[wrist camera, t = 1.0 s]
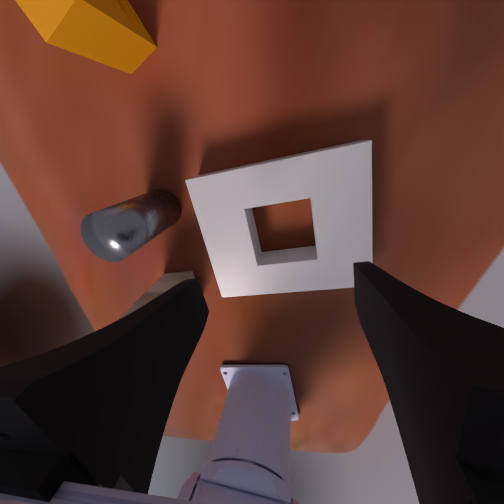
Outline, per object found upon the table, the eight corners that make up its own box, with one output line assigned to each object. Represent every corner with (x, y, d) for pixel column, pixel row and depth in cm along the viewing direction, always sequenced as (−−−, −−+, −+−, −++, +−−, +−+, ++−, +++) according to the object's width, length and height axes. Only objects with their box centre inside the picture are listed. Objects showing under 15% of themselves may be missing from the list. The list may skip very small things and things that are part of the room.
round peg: (185, 222, 21) (138, 258, 14) (154, 227, 21) (96, 264, 15) (173, 185, 19) (115, 208, 13) (140, 192, 20) (71, 217, 14)
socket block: (364, 269, 20) (372, 286, 17) (229, 281, 23) (222, 297, 20) (361, 140, 16) (371, 140, 14) (198, 175, 19) (184, 180, 16)
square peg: (202, 297, 24) (169, 353, 18) (174, 299, 25) (133, 353, 19) (192, 270, 23) (153, 320, 17) (163, 273, 24) (116, 322, 17)
